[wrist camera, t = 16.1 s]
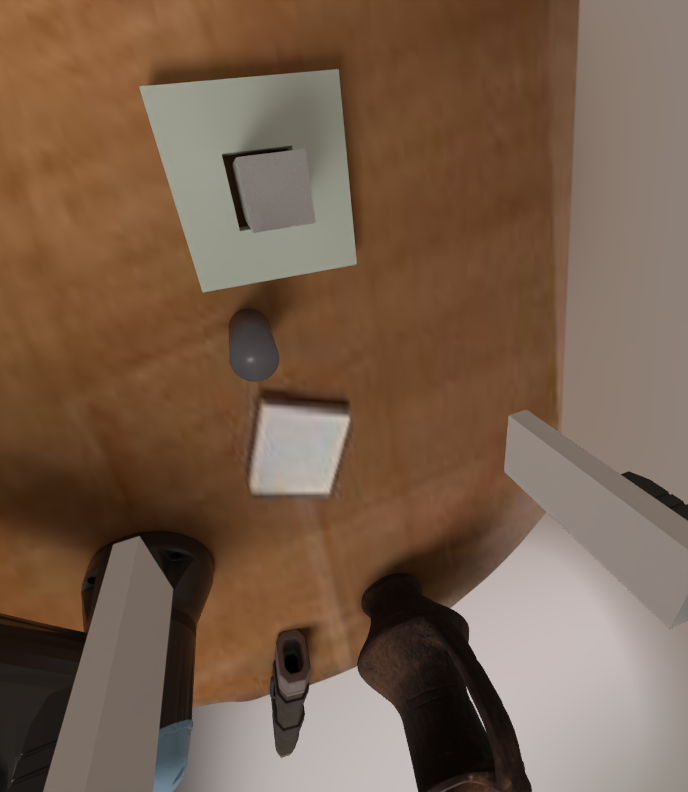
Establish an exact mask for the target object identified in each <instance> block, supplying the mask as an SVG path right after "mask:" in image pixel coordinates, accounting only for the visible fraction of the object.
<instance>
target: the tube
mask: <svg viewBox="0 0 688 792" xmlns="http://www.w3.org/2000/svg"><path fill="white" fill-rule="evenodd" d="M310 669H311V666H310V661H309V655H308V650H307V644H306V639H305V636H304V635H302V634H301V633H300V632H299V631H298V630H297V629H295V630H291V631H286V632H282V633H281V634H280V636H279V638H278V640H277V642H276V650H275V660H274V664H273V673H274V675H273V676H272V677H271V682H270V696H271V701H272V710H273V715H272V716H273V727H274V737H275V746H276V751H277V753H278V754H279V756H280V757H285V756H288V755H290V754H291V753H292V752H293V750H294V748H295V746H296V743H297V741H298V737H299V731H300V728H301V726H302V723H303V720H304V715H305V713H304V705H303V703H304V701H305V698H306V696H307V693H308V690H309V683H308V681H309V676H310ZM274 682H275V684H274Z"/></svg>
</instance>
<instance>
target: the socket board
mask: <svg viewBox="0 0 688 792" xmlns="http://www.w3.org/2000/svg"><path fill="white" fill-rule="evenodd" d="M139 88H140V92H141V95H142V98H143V101H144V104H145V108H146V111H147V114H148V117H149V121H150V124H151V127H152V130H153V134H154V137H155V140H156V143H157V147H158V150H159V153H160V156H161V160H162V163H163V166H164V169H165V172H166V176H167V179H168V182H169V185H170V189H171V192H172V195H173V198H174V202H175V205H176V208H177V211H178V215H179V218H180V221H181V224H182V228H183V231H184V234H185V237H186V240H187V244H188V247H189V250H190V253H191V257H192V260H193V263H194V266H195V270H196V273H197V276H198V279H199V283H200V286H201V289H202V292H209V291H214V290H219V289H225V288H230V287H236V286H241V285H247V284H252V283H258V282H263V281H269V280H274V279H280V278H285V277H291V276H296V275H302V274H307V273H313V272H318V271H324V270H329V269H335V268H340V267H346V266H351V265H356V264H357V260H356V249H355V239H354V228H353V217H352V207H351V196H350V185H349V175H348V164H347V153H346V142H345V132H344V121H343V110H342V100H341V89H340V78H339V69H334V70H322V71H311V72H299V73H288V74H276V75H265V76H253V77H242V78H231V79H219V80H208V81H196V82H185V83H173V84H162V85H150V86H139ZM285 148H287V151H291V150H299V149H306V156H307V164H308V171H309V178H310V185H311V192H312V199H313V206H314V214H315V221H316V223H313V224H307V225H301V226H294V227H288V228H282V229H276V230H269V231H263V232H257V233H253V232H252V230H251V229H250V227H249V226H245V227H239V225H238V221H237V217H236V212H235V208H234V204H233V200H232V196H231V191H230V187H229V183H228V179H227V175H226V170H225V166H224V162H223V158H222V156H228V155H236V154H244V153H252V152H260V151H269V150H277V149H285Z"/></svg>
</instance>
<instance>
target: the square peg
mask: <svg viewBox="0 0 688 792" xmlns="http://www.w3.org/2000/svg"><path fill="white" fill-rule="evenodd" d="M232 168H233V172H234V177H235V181H236V185H237V190H238V194H239V198H240V203H241V207H242V212H243V216H244V219H245V220H246V222H247V224H248V225H249V227H250V229H251V230H252V232H253V233H257V232H263V231H269V230H276V229H282V228H288V227H294V226H301V225H307V224H313V223H316V221H315V214H314V206H313V199H312V192H311V185H310V178H309V171H308V164H307V156H306V149H299V150H291V151H283V152H275V153H266V154H258V155H250V156H242V157H236V159H235V160H234V162H233V164H232Z"/></svg>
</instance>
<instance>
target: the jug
mask: <svg viewBox="0 0 688 792" xmlns="http://www.w3.org/2000/svg"><path fill="white" fill-rule="evenodd" d="M362 609H363V611H364V612H365V613H366V614H367V615H368V616H369V617H370V618H371V626H370V631H369V634H368V637H367V640H366V642H365V644H364V646H363V648H362V650H361V652H360V655H359V658H358V663H357V666H358V671H359V674H360V675H361V677H362V678H363V679H364V680H365V682H366V683H367V684H368V685H370V686H371V687H372V688H373V689H374V690H376V691H377V692H378V693H380V694H381V695H382V696H383V697H385V698H386V699H387V700H388V701H390V702H391V703H392V704H393V705H394V706H395V708H396V709H397V711H398V713H399V714H400V716H401V718H402V721H403V724H404V729H405V734H406V738H407V742H408V747H409V751H410V756H411V760H412V765H413V769H414V774H415V778H416V783H417V788H418V792H532V789H531V784H530V782H529V780H528V778H527V775H526V773H525V767H524V763H523V761H522V758H521V753H520V749H519V744H518V741H517V737H516V734H515V731H514V728H513V725H512V723H511V721H510V718H509V715H508V714H507V712H506V710H505V708H504V706H503V704H502V701H501V699H500V697H499V696H498V694H497V692H496V690H495V689H494V687H493V685H492V683H491V681H490V680H489V678H488V676H487V674H486V673H485V671H484V669H483V667H482V666H481V664H480V663H479V662H478V661H477V659H476V656H475V654H474V652H473V651H472V649H471V647H470V646H469V644H468V641H469V627H468V623H467V622H466V620H465V619H464V618H463V617H462V616H461V615H460V614H458V613H457V612H455V611H454V610H452V609H450V608H448V607H446V606H443V605H441V604H438V603H436V602H434V601H432V600H430V599H428V598H426V597H424V596H422V594H421V586H420V583H419V581H418V580H417V579H416V578H415V577H414V576H411V575H392V576H388V577H386V578H384V577H383V579H381V580H380V581H378V583H375V584H373V585H372V586H370V587H369V588H368V589H367V591H366V592H365V593H364V595H363V598H362ZM466 686H467V688H468V690H469V693H470V695H471V697H472V699H473V701H474V703H475V705H476V708H477V710H478V712H479V714H480V717H481V718H482V721H483V723H484V726H485V729H486V731H485V729H484V727H483V725H482V723H481V721H480V719H479V717H478V714H477V712H476V710H475V708H474V706H473V704H472V702H471V701H470V698H469V696H468V693H467V689H466ZM486 732H487V733H486Z"/></svg>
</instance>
